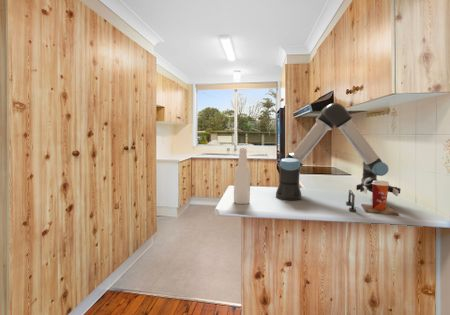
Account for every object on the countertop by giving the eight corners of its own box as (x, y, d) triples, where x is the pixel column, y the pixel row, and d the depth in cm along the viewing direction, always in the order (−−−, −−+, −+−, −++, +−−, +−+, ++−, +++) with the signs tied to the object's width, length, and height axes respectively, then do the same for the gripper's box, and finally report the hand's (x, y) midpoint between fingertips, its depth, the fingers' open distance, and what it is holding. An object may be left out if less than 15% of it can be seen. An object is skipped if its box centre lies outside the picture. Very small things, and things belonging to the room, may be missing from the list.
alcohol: (249, 200, 143) (251, 147, 141) (249, 204, 134) (251, 148, 132) (234, 200, 144) (235, 147, 141) (233, 204, 135) (234, 148, 133)
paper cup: (380, 211, 124) (382, 183, 123) (366, 207, 131) (368, 180, 130) (391, 209, 127) (393, 182, 125) (377, 205, 134) (379, 179, 133)
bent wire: (349, 211, 126) (350, 194, 125) (345, 203, 141) (346, 188, 140) (356, 212, 125) (357, 195, 124) (351, 204, 140) (352, 189, 139)
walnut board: (365, 212, 125) (365, 210, 125) (361, 205, 138) (361, 203, 138) (398, 215, 121) (398, 213, 121) (390, 208, 133) (391, 206, 133)
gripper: (397, 193, 142) (410, 202, 122) (348, 189, 150) (353, 196, 130) (398, 180, 141) (411, 186, 121) (349, 176, 150) (354, 182, 130)
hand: (381, 192), depth 126 cm, fingers open, 13 cm apart
